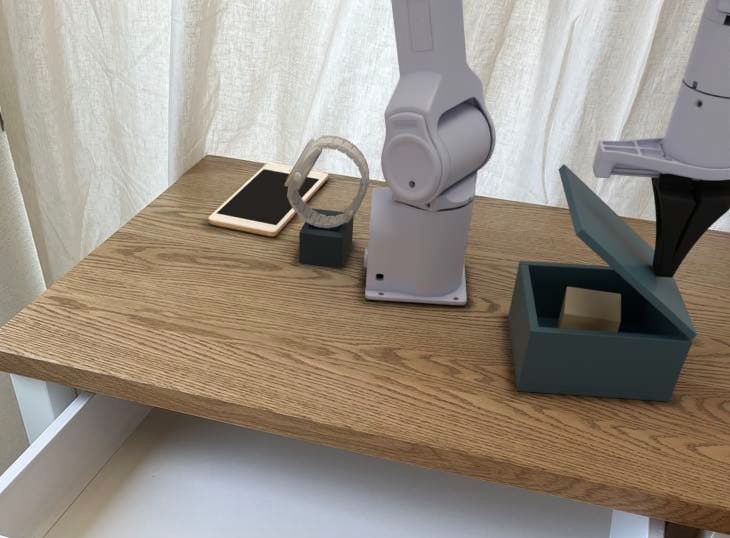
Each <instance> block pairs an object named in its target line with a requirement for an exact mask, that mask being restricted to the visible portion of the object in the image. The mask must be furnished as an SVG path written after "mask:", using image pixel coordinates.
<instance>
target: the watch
mask: <svg viewBox="0 0 730 538" xmlns="http://www.w3.org/2000/svg"><path fill="white" fill-rule="evenodd" d="M324 149H325V150H326V149H328V150H334V151H337V152H339V153H342V154H344V155H346V156H347V157H348V158H349V159H350V160H352V162H353V163H354V164H355V166H356V167H357V168H358V172H359V174H360V177H361V179H360V181H359V186H358V190H357V193H356V195H355V196H354V198H353V200H352V201H351V203H349V204H348V206H346V207H345V208H344V210H343V211H338V210H328V209H321V208H311V207H310V206H309V205H308V204H307V202H306V203H304V201H303V199H302V198H301V196H300V195H299V192H298V190H299V189H300V188H301V186H302V184H303V183H304V181H305V179H306V178H307V176H308V174H309V173H310V171H311V170H312V169H313V168H314V166H315V165H316V163H317V161H318V159H319V157H320V156H321V153H322V152H323V150H324ZM292 167H293V169H292V171H291V172H290V174H289V176H288V178H287V180H286V182H285V186H286V187H287V186H288V194H287V197H288V199H289V202H290V204H291V205H292V208H293V209H294V211H295V212H296V214H297V216H299V218H300V219H301V220H303V221H304V223H303V225H302V227H301V229H300V231H299V233H298V238H299V239H298V247H299V248H298V250H299V251H298V253H299V254H298V255H299V256H298V263H299V264H305V265H306V264H307V265H314V266H322V267H330V268H336V269H342V268H343V266H344V264H345V261H346V259H347V257H348V254H349V253H350V249H351V247H352V245H353V239H354V238H353V237H354V217H355V215H356V213H357V212H358V211H359V209H360V207H361V206H362V203H363V200H364V198H365V196H366V194H367V192H368V189H369V186H370V184H371V183H370V168H369V164H368V161H367V159H366V158H365V156H364V154H363V153H362V151H361V150H360V149H359V147H358V146H357V145H356V144H354V143H353V142H351V141H350V140H348V139H346V138H344V137H341V136H338V135H322V136H320V137H319V138H317V139H314V138H313V137H312V138H311V139H309V141H308V142H307V143H306V145H305V146H304V149H303V150H302V151H301V153H300V155H299V157H298V159H297V160H296V162H295V164H294V166H292Z"/></svg>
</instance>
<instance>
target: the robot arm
mask: <svg viewBox="0 0 730 538" xmlns="http://www.w3.org/2000/svg"><path fill="white" fill-rule="evenodd" d="M390 3H391V10H392V19H393V29H394V37H395V46H396V47H395V48H396V54H397V62H398V64H397V65H398V72H399V78H398V82H397V84H396V86H395V88H394V91H393V92H392V95H391V97H390V99H389V101H388V104H387V106H386V108H385V110H384V114H383V118H384V125H385V126H384V127H385V137H384V143H383V146H382V149H381V156H380V166H381V172H382V176H383V179H384V181H385V183H386V185H387V186H379V187H373V188H372V190H371V191H372V193H371V202H370V215H369V228H368V229H369V230H368V245H367V246H368V247H365V248H364V256H363V269H364V268H366V277H365V278H366V279H365V292H364V297H365V298H366V299H367V300H374V301H388V302H403V303H405V302H406V303H419V304H420V303H421V304H435V305H450V306H466V304H467V301H468V299H467V298H468V297H467V283H466V266H465V265H466V264H465V260H466V254H467V249H468V242H469V234H470V228H471V221H472V215H473V208H474V201H475V195H476V188H477V187H476V185H477V179H478V171H480V170H481V169H482V168H484V167H485V166H486V165H487V164H488V163H489V162H490V160H491V158H492V156H493V153H494V151H495V148H496V141H497V133H496V127H495V124H494V123H495V122H494V120H493V118H492V116H491V114H490V112H489V111H488V108H487V106H486V102H485V98H484V97H485V95H484V87H483V86H484V85H483V81H482V80H481V78H479V76H478V75H477V74H476V72H474V70H473V69H472V68H471V67H470V65H469V64H468V62H467V52H466V51H467V50H466V38H465V35H466V34H465V21H464V6H463V0H390ZM591 167H592V171H593V175H594V177H595V178H597V179H609V178H610V177H611V176H621V177H636V178H638V177H639V178H650V181H651V186H652V193H653V199H654V200H653V201H654V209H655V210H654V213H655V243H654V250H655V251H654V258H653V263H652V266H653V269H654V272H655V275H656V276H657V277H669V278H672V277H674V276H675V274H676V272H677V271H678V269H679V268H680V266H681V264H682V263H683V261H684V260H685V259H686V257H687V256H688V254H689V253H690V251H691V249H693V247H694V246H695V245H696V243H697V242H698V241H699V240H700V239H701V237H703V235H704V234H705V233H706V232H707V231H708V230H709V229H710V228H711V227H712V226H713V225H714V224H715V223H716V222H718V220H720V218H722V217H723V216H724V215H725V214H727V212H729V211H730V0H707V1H706V2H705V4H704V7H703V11H702V14H701V17H700V21H699V23H698V27H697V30H696V34H695V37H694V40H693V43H692V47H691V49H690V53H689V57H688V59H687V63H686V67H685V70H684V73H683V76H682V80H681V83H680V85H679V89H678V92H677V95H676V99H675V102H674V105H673V108H672V111H671V115H670V118H669V121H668V125H667V128H666V131H665V135H664V137H654V138H651V137H650V138H641V139H627V140H598V142H597V146H596V150H595V154H594V159H593V163H592V166H591Z"/></svg>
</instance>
